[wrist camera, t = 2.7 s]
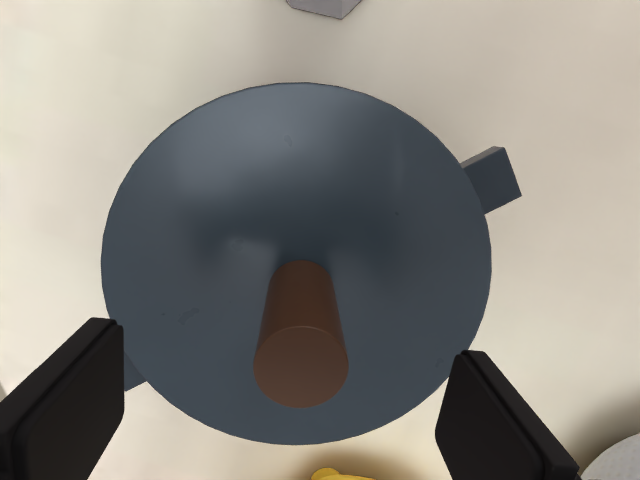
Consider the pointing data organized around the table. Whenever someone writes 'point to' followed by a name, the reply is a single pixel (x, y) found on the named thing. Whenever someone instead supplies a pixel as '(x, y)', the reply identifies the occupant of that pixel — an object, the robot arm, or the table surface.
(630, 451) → the cereal bowl
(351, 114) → the pot lid
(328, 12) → the flask
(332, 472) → the teapot
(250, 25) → the table surface
